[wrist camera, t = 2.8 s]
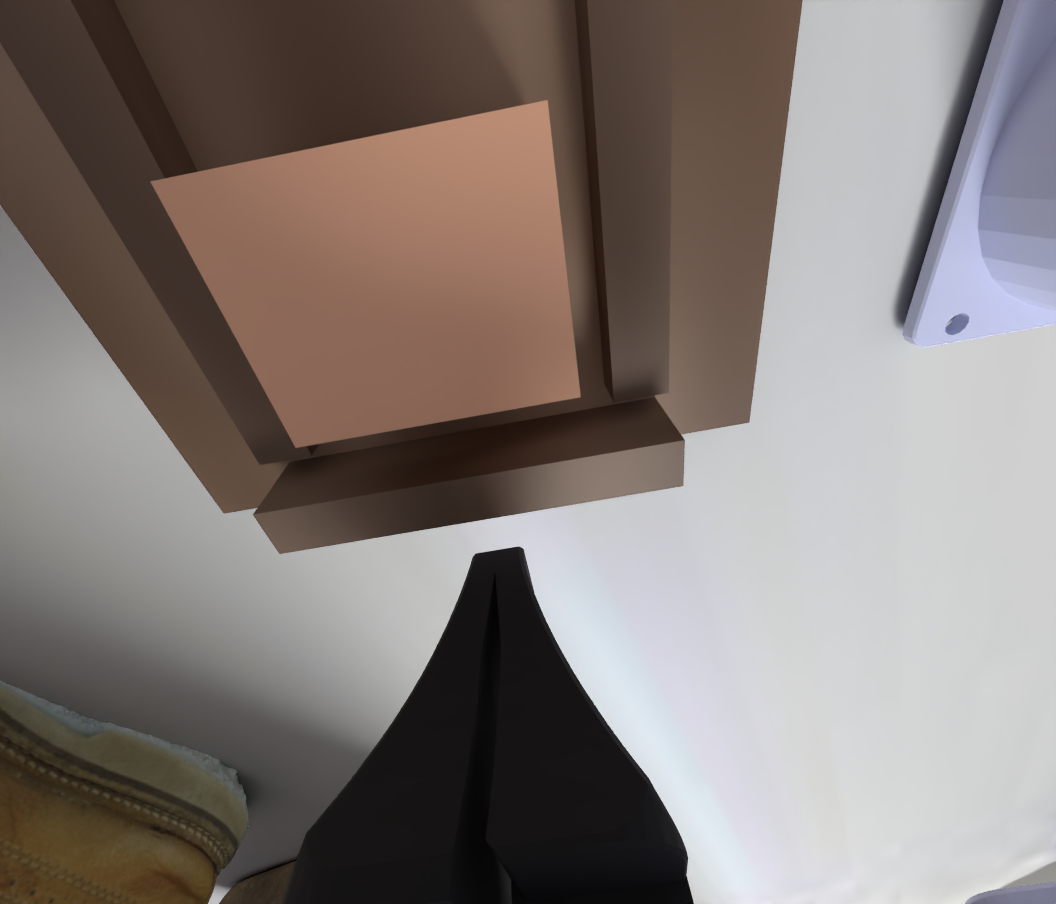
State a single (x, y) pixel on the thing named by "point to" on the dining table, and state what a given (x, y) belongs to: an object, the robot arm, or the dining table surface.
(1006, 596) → the dining table surface
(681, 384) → the slider track
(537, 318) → the slider knob
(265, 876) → the container
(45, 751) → the oxford shoe
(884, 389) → the dining table surface
